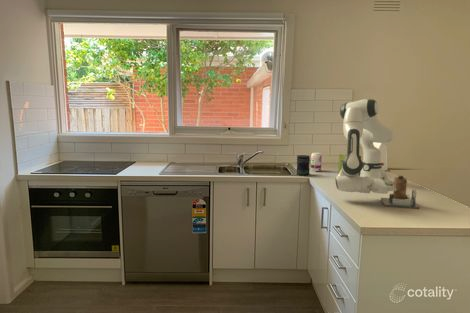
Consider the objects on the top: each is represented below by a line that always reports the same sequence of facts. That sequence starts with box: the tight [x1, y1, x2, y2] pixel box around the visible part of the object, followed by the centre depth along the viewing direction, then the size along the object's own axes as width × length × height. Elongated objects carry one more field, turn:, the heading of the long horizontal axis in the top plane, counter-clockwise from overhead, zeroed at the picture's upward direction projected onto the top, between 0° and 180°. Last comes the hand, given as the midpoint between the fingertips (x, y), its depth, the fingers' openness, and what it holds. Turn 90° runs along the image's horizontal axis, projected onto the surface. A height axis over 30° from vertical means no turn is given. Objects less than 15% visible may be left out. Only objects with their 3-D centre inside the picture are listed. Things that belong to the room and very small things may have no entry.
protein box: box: [337, 153, 362, 176], centre depth 244 cm, size 10×15×16 cm
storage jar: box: [296, 154, 311, 177], centre depth 245 cm, size 10×10×15 cm
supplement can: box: [310, 152, 323, 172], centre depth 260 cm, size 8×8×15 cm
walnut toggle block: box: [392, 175, 408, 199], centre depth 168 cm, size 5×5×14 cm
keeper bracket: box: [380, 189, 420, 210], centre depth 169 cm, size 16×14×8 cm
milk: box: [373, 142, 388, 172], centre depth 264 cm, size 12×12×26 cm
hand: (394, 186), depth 169 cm, fingers open, 8 cm apart
